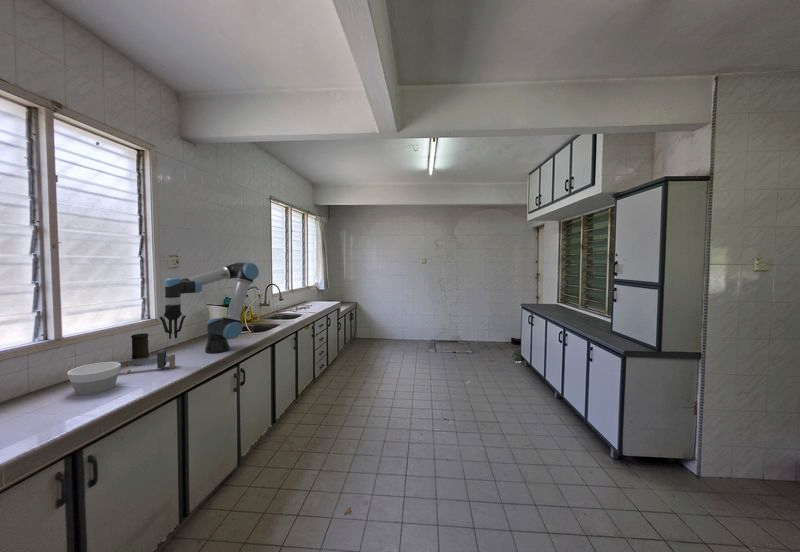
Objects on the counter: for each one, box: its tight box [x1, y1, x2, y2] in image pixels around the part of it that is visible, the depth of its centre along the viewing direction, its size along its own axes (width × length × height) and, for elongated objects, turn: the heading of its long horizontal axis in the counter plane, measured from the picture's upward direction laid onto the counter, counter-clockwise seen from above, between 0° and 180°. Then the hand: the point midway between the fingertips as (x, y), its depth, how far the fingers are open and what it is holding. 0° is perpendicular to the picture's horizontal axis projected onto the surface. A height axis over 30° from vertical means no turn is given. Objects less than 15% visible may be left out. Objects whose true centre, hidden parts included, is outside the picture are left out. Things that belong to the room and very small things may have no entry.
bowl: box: [67, 361, 121, 396], centre depth 159 cm, size 19×19×11 cm
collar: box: [156, 348, 167, 369], centre depth 189 cm, size 3×8×9 cm, turn 27°
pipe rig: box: [109, 354, 176, 376], centre depth 185 cm, size 30×9×7 cm, turn 117°
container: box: [130, 333, 150, 367], centre depth 198 cm, size 9×9×18 cm
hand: (173, 343), depth 191 cm, fingers closed
